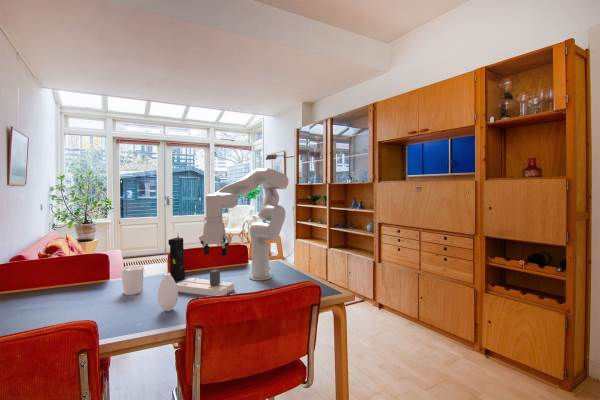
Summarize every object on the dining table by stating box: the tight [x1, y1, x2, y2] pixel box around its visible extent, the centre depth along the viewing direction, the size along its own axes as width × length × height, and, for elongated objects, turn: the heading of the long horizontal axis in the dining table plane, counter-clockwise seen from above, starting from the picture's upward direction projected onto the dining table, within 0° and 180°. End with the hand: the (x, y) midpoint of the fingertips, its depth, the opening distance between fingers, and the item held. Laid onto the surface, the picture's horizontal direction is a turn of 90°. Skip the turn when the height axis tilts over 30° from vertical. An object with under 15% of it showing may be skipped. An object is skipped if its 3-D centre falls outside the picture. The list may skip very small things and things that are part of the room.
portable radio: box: [167, 233, 186, 282], centre depth 173 cm, size 8×6×25 cm
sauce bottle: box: [157, 267, 179, 312], centre depth 131 cm, size 8×8×18 cm
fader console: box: [176, 277, 235, 298], centre depth 154 cm, size 12×26×4 cm, turn 72°
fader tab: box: [209, 268, 221, 286], centre depth 152 cm, size 4×3×10 cm
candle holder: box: [120, 264, 145, 296], centre depth 153 cm, size 10×10×12 cm
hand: (215, 255), depth 152 cm, fingers open, 9 cm apart
